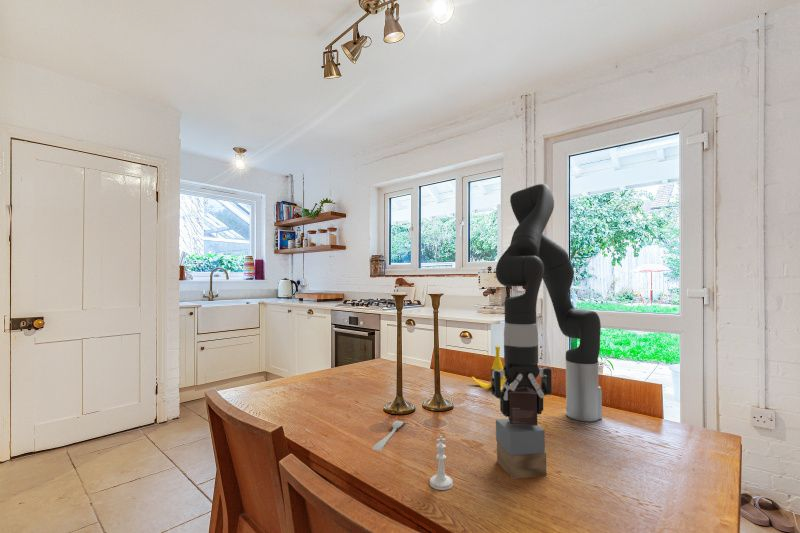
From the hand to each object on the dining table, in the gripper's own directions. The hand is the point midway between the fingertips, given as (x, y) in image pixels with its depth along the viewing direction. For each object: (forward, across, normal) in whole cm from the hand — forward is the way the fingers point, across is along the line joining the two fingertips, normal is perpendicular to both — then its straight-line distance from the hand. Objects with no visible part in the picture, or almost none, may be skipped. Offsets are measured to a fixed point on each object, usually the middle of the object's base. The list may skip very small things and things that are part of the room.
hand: (521, 414), depth 89 cm
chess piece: (+12, +20, +3) cm, 24 cm away
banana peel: (+13, -19, -62) cm, 66 cm away
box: (+2, 0, 0) cm, 2 cm away
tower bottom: (+12, 0, 0) cm, 12 cm away
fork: (+13, +27, -24) cm, 38 cm away
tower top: (+7, 0, 0) cm, 8 cm away
